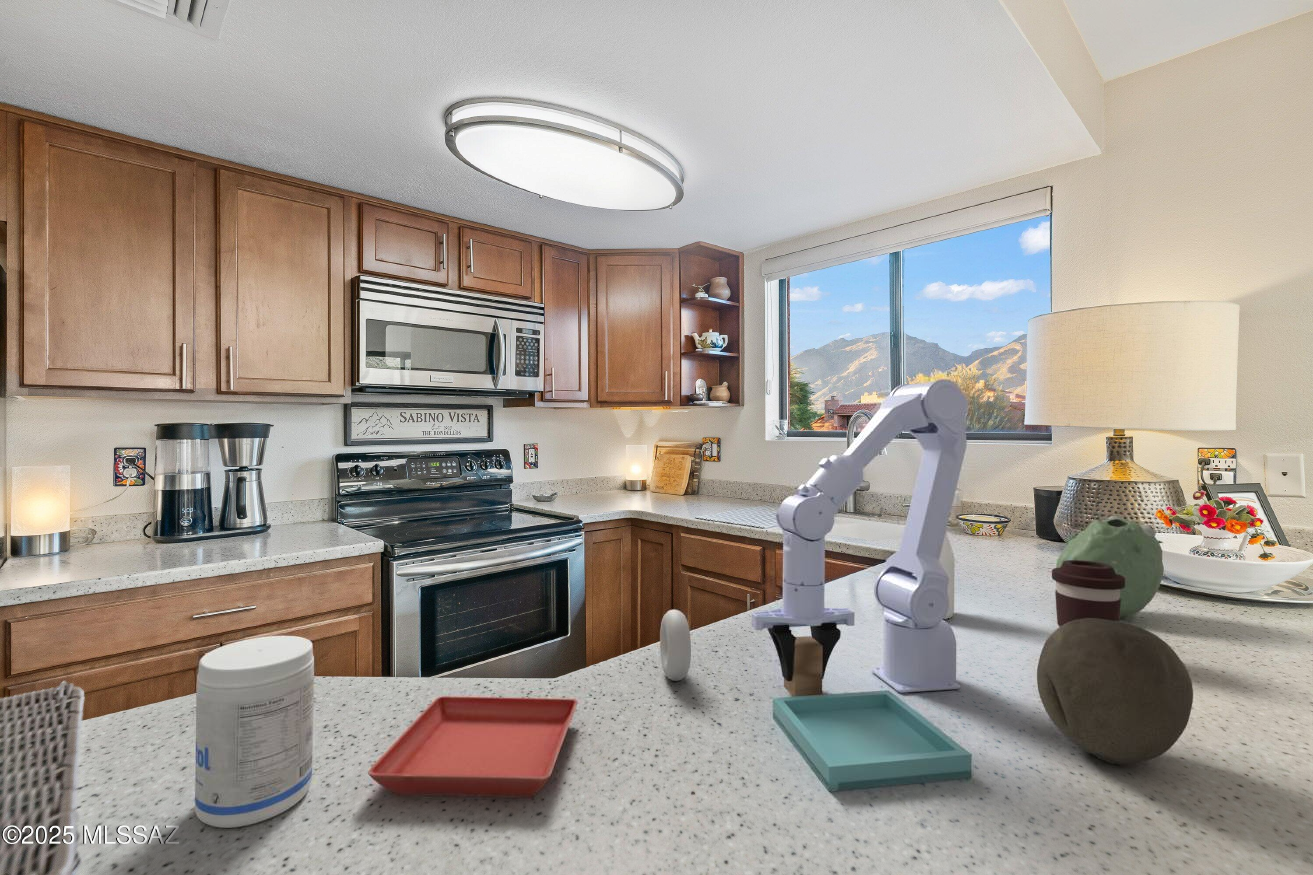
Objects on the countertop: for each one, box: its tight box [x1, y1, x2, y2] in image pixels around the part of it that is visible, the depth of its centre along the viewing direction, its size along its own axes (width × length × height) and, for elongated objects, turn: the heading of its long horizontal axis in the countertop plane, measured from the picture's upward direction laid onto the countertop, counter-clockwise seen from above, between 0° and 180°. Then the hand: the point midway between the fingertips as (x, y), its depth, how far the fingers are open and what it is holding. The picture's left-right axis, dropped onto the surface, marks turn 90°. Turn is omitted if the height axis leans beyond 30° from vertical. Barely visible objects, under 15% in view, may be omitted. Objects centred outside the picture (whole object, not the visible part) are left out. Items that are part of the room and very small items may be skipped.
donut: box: [659, 608, 692, 682], centre depth 89 cm, size 10×4×10 cm, turn 9°
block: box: [783, 635, 823, 697], centre depth 84 cm, size 4×4×7 cm
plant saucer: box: [367, 695, 579, 798], centre depth 67 cm, size 18×18×3 cm
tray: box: [772, 689, 973, 792], centre depth 70 cm, size 16×16×2 cm
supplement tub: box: [194, 635, 315, 829], centre depth 58 cm, size 10×10×15 cm
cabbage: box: [1055, 515, 1165, 618], centre depth 121 cm, size 16×19×20 cm
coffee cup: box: [1051, 560, 1125, 628], centre depth 100 cm, size 10×10×15 cm
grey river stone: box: [1036, 618, 1194, 766], centre depth 68 cm, size 14×14×15 cm
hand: (802, 677), depth 84 cm, fingers closed on block, 4 cm apart
